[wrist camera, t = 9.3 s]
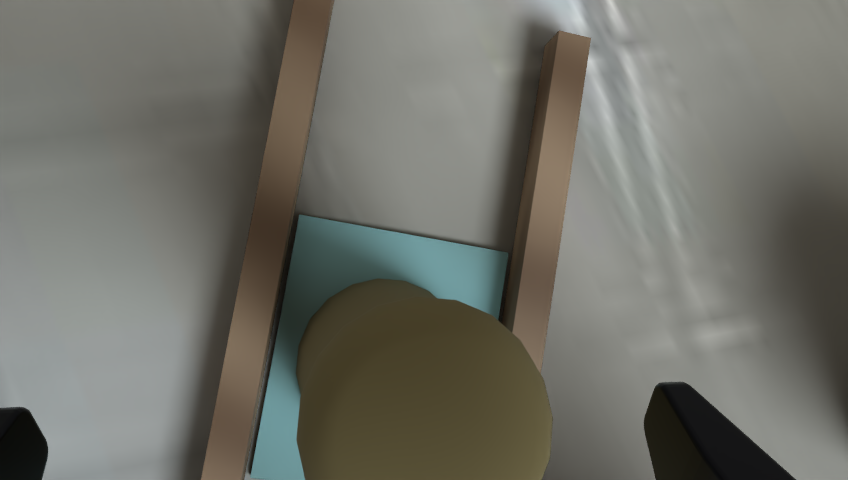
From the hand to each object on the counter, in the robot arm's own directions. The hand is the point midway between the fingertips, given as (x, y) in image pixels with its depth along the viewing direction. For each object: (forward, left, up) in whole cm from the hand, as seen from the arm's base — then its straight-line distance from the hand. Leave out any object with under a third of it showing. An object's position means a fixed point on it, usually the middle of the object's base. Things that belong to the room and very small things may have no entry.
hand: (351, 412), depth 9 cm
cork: (-2, -1, -13) cm, 13 cm away
